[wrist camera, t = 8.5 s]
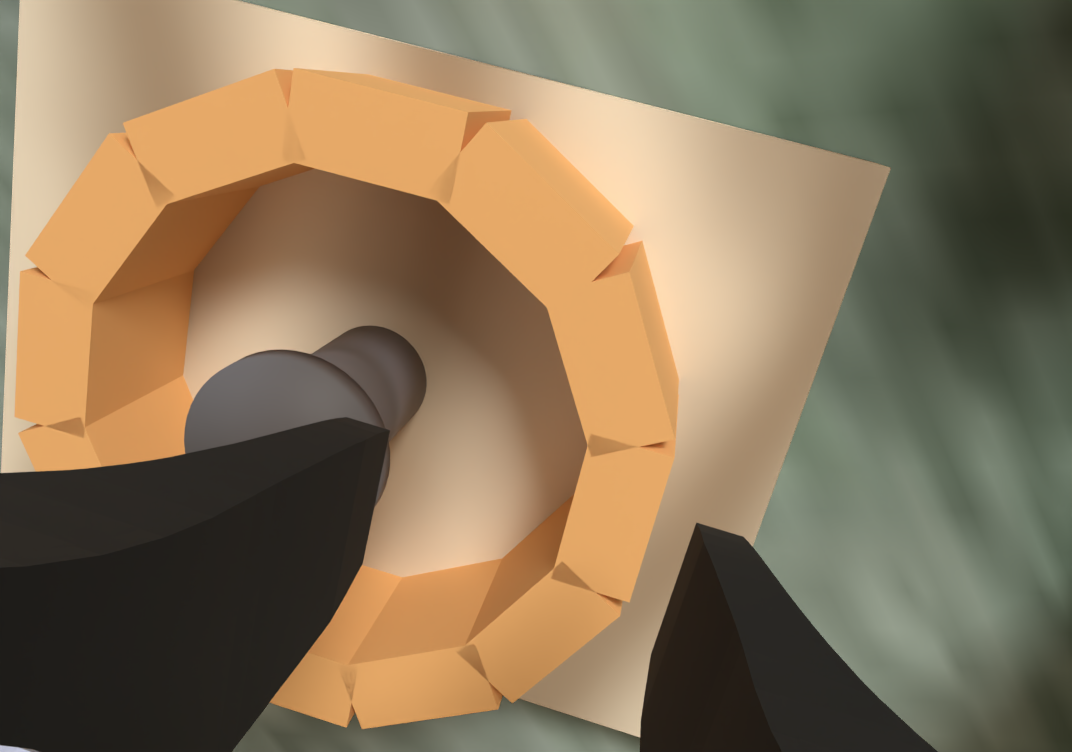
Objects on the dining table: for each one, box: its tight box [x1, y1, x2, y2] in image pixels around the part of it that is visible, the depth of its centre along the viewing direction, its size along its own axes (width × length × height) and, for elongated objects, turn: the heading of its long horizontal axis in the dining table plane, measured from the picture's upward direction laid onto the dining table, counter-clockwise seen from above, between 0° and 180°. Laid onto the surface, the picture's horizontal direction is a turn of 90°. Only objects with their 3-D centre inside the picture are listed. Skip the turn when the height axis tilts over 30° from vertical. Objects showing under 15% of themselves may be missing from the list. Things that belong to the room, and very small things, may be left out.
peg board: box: [1, 0, 891, 737], centre depth 18 cm, size 18×14×6 cm
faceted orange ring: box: [15, 68, 679, 729], centre depth 18 cm, size 12×12×4 cm
